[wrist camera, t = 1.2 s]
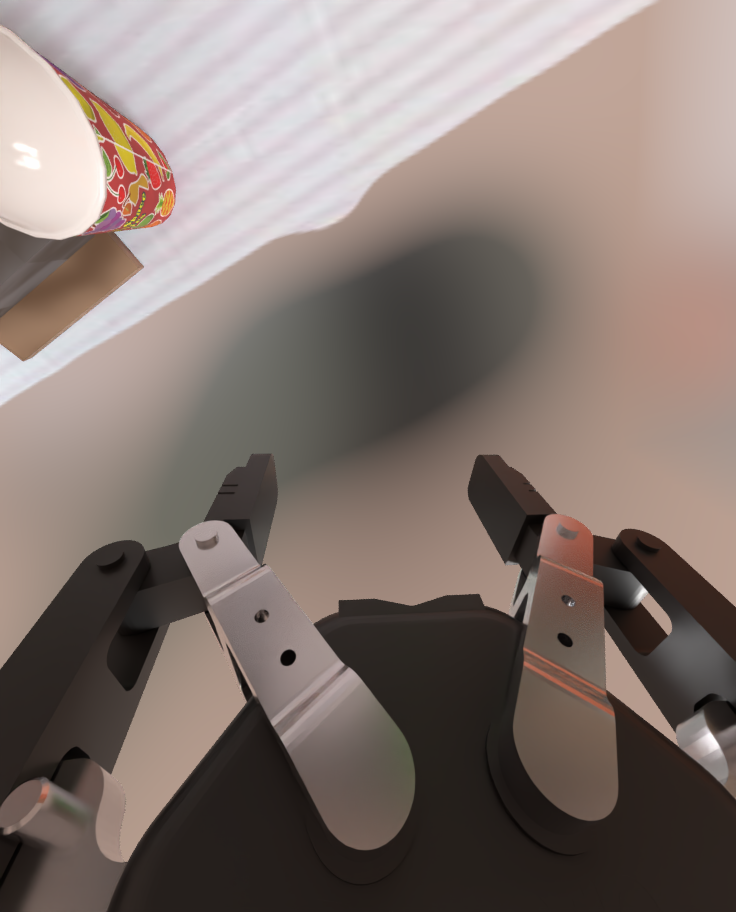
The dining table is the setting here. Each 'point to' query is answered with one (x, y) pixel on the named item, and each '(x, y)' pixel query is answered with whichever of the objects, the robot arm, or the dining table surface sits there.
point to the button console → (55, 284)
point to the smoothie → (71, 155)
